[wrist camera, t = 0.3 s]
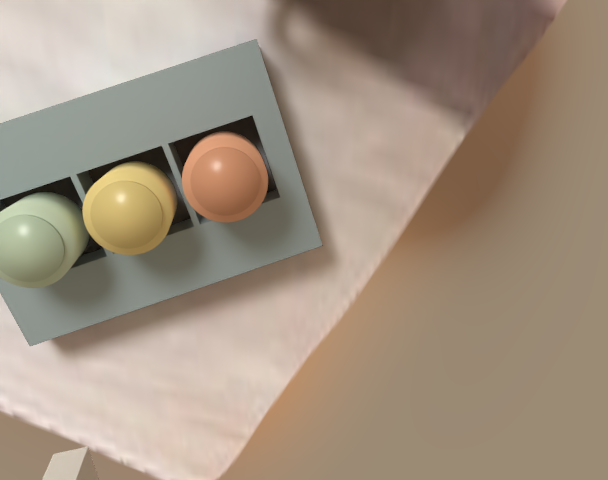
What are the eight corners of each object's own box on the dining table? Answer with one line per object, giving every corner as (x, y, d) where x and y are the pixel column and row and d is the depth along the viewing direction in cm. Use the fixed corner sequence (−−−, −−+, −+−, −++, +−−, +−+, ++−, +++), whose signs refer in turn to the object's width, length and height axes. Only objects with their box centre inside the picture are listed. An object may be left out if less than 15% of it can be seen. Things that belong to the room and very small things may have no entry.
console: (-57, 144, 35) (-79, 149, 32) (254, 41, 35) (256, 38, 33) (42, 329, 39) (29, 346, 37) (316, 234, 40) (322, 245, 37)
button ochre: (84, 176, 34) (66, 189, 30) (159, 150, 34) (151, 160, 30) (116, 246, 36) (103, 268, 32) (188, 222, 36) (184, 240, 32)
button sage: (-8, 206, 34) (-38, 224, 30) (69, 181, 34) (48, 195, 30) (29, 276, 36) (5, 301, 32) (102, 251, 36) (87, 273, 32)
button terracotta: (174, 145, 34) (168, 155, 30) (249, 120, 35) (252, 126, 31) (203, 217, 36) (199, 235, 32) (274, 193, 36) (279, 208, 32)
